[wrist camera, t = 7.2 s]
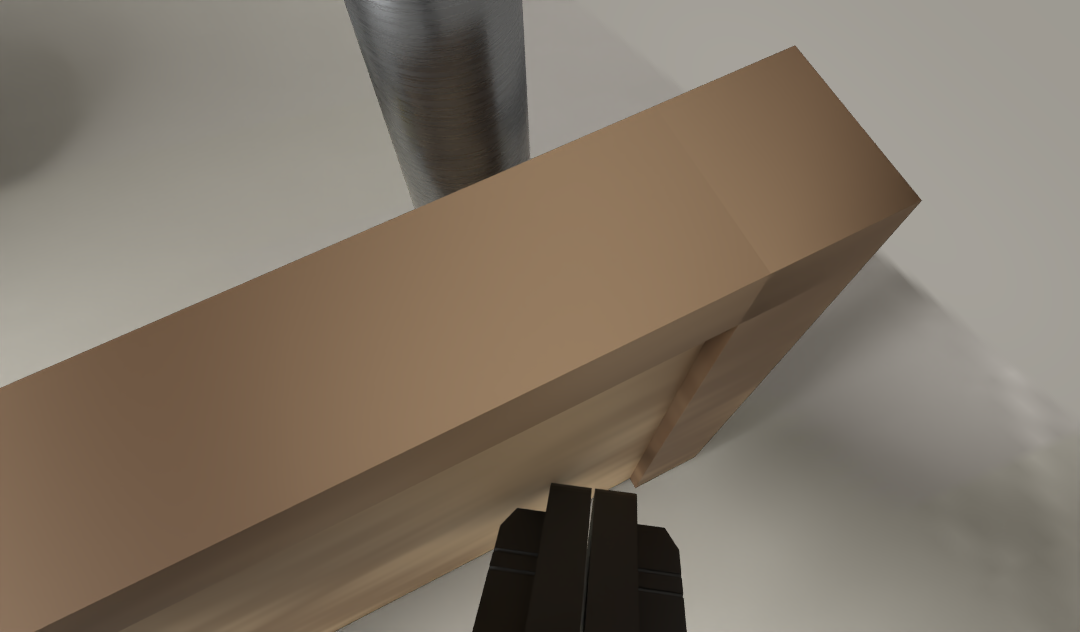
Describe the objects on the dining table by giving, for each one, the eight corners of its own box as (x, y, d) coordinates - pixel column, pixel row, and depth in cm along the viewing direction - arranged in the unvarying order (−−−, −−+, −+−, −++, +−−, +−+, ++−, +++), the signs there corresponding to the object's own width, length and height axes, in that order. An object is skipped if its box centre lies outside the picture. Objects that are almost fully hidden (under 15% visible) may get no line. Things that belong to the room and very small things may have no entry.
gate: (55, 790, 15) (-1183, 1223, 4) (34, 691, 15) (-1076, 850, 5) (694, 456, 17) (922, 200, 7) (652, 383, 18) (795, 44, 7)
